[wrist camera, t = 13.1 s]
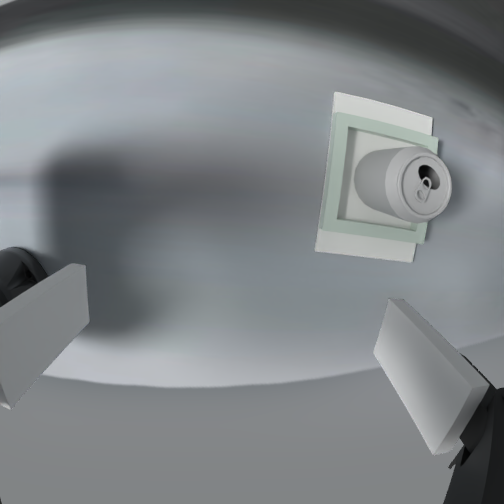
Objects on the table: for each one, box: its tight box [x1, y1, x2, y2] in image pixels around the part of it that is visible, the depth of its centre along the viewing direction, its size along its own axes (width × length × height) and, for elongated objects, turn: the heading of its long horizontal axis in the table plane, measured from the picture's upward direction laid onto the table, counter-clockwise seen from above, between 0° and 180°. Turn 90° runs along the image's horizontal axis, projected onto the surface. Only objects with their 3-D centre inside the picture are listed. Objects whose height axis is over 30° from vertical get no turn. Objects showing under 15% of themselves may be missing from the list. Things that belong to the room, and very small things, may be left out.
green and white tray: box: [314, 92, 438, 263], centre depth 36 cm, size 14×20×2 cm
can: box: [354, 146, 452, 224], centre depth 31 cm, size 8×8×12 cm
